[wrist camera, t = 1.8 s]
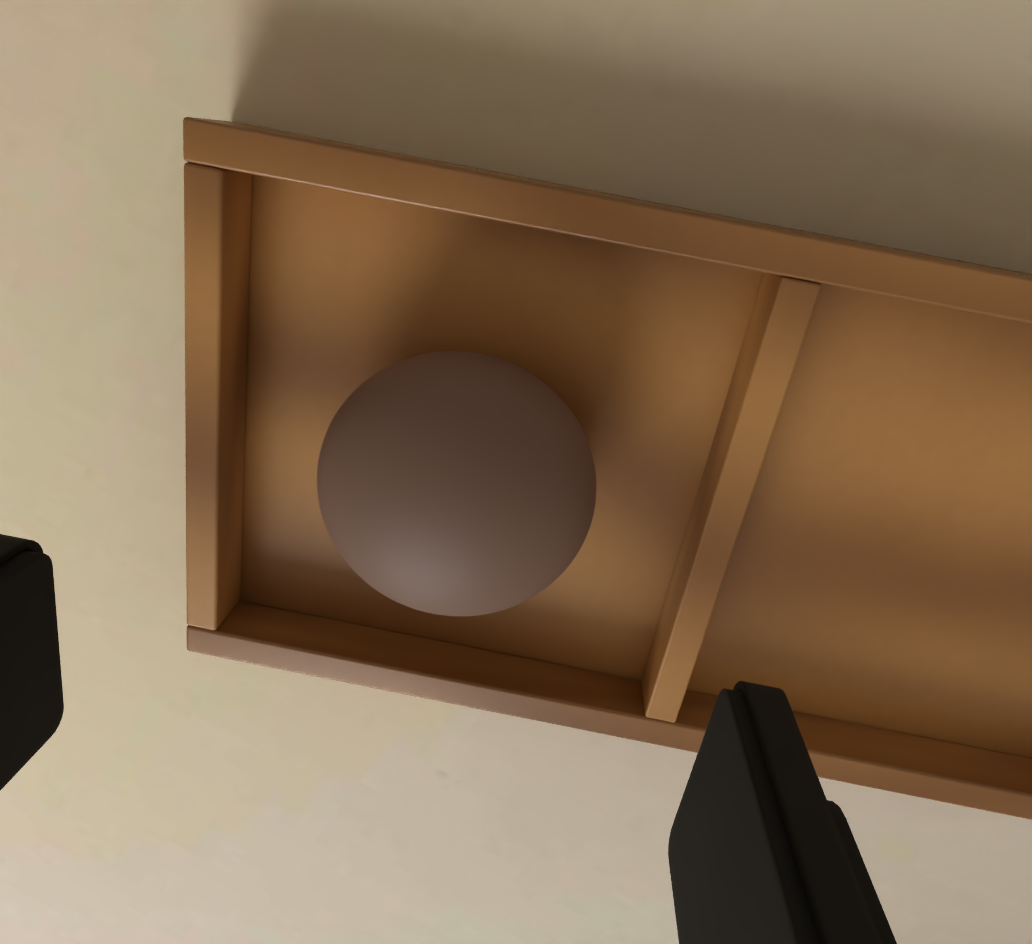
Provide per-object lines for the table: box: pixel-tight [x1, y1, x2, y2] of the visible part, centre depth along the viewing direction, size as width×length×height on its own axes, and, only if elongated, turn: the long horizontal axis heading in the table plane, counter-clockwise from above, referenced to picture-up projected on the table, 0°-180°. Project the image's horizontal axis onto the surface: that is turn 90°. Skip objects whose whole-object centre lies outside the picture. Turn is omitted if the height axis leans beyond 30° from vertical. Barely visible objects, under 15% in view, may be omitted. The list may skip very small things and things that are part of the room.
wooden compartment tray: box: [183, 117, 1032, 819], centre depth 17 cm, size 13×24×2 cm, turn 80°
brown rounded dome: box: [317, 351, 597, 616], centre depth 16 cm, size 6×6×4 cm
